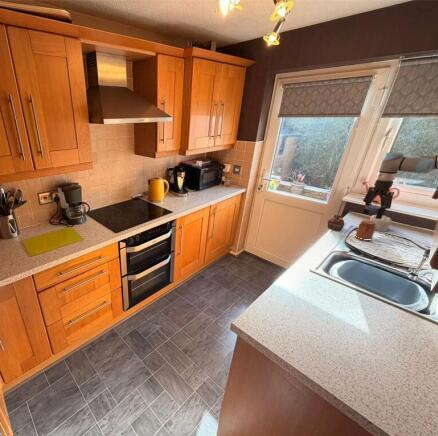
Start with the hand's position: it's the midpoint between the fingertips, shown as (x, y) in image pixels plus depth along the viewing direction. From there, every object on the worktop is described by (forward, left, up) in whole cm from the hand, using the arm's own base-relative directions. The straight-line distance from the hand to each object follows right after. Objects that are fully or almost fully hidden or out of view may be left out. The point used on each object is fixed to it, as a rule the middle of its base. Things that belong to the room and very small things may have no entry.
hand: (371, 216), depth 143 cm
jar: (0, 0, -16) cm, 16 cm away
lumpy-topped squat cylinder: (+15, -25, -16) cm, 33 cm away
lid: (0, 0, +6) cm, 6 cm away
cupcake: (+16, +6, -16) cm, 23 cm away
